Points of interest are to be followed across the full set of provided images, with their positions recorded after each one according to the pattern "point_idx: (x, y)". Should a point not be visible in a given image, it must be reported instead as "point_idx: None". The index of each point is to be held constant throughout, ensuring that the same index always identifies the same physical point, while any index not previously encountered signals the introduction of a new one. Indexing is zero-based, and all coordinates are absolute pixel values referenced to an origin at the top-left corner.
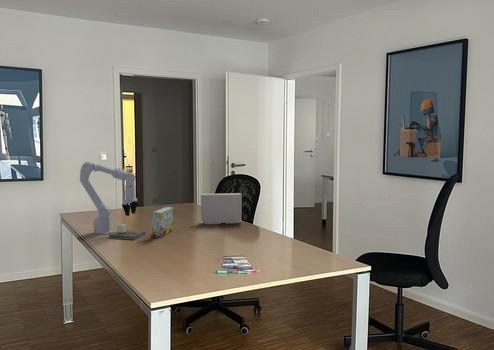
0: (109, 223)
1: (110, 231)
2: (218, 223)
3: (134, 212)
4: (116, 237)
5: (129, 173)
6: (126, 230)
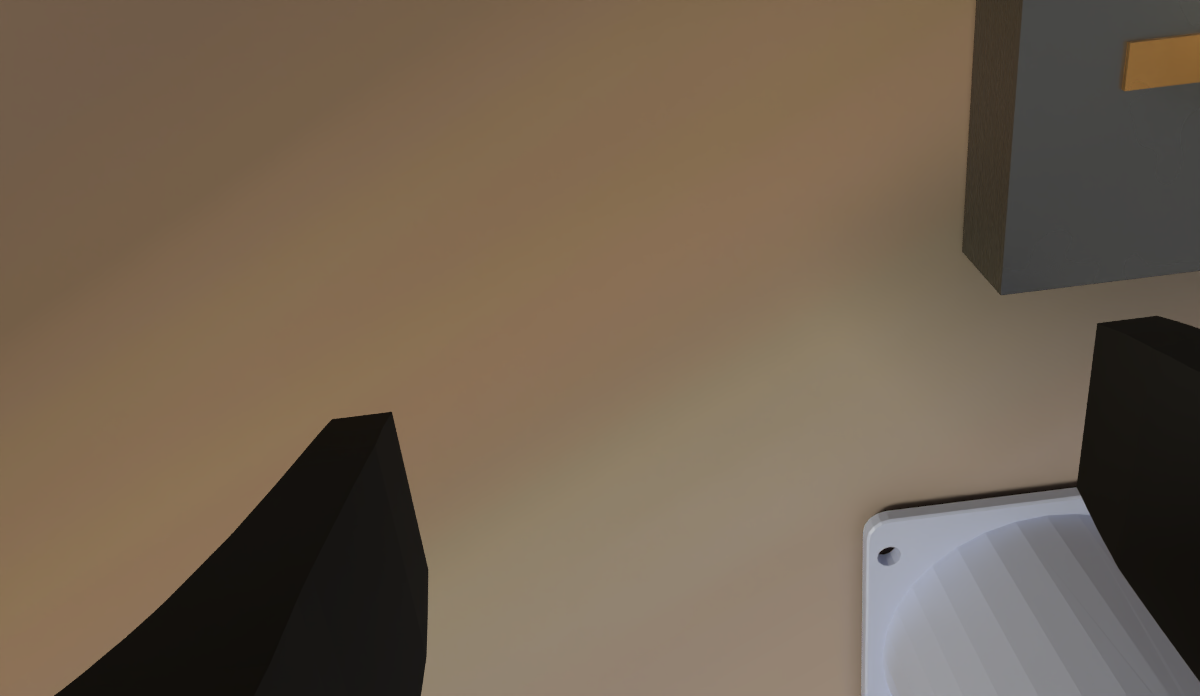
0: (1180, 694)
1: (1002, 530)
2: None
3: (388, 457)
4: None
5: None
6: (1069, 69)
